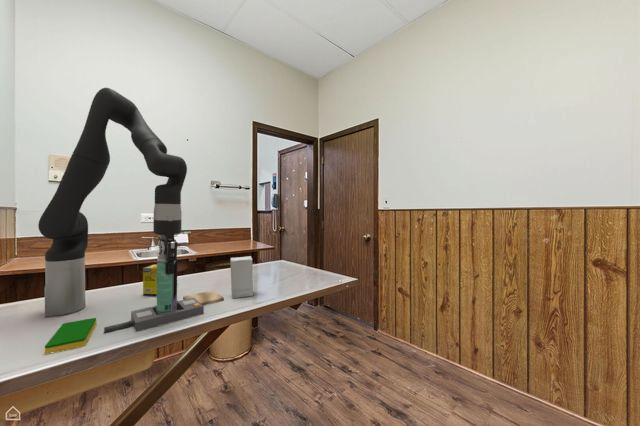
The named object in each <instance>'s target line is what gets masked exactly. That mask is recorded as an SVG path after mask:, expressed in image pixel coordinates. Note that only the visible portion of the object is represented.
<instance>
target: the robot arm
mask: <svg viewBox="0 0 640 426" xmlns="http://www.w3.org/2000/svg"><path fill="white" fill-rule="evenodd" d="M109 120H110V121H112V122H114V123H115V124H118V125H121V126H123V128H126V129H127V130H128V131H129V132H130V133H131V135H130V137H131V141H132V143H133V144H134V146H135V147H136V148H137V150H138V151H139V152H140V153H141V154H142V155H143V159H144V161H145V164H146V167H147V169H148V171H150V172H151V174H153V175H156V176H157V177H166V178H168V179H167V180H166V183H164V184H158V185H156V186H155V188H154V206H153V207H154V208H153V229H152V230H153V231H152V232H153V234H155V235H159V236H160V235H161V237H158V252H159V253H158V256H160V255H161V254H162V253H163V255H164V256H165V274H166V275H170V274H173V273H174V262H175V261H176V259H177V260H178V244H179V243H178V241H177V240H176V239H175V235H178V234H179V235H180V234H181V233H182V217H183V215H182V213H183V212H182V205H181V204H182V190H183V186H184V183H185V180H186V177H187V173H188V165H187V163H186V161H185V160H184V158H183V157H181V156H178V155H172V154H169V153H168V148H167V146H166V145H165V143H164V142H163V141H162V140H161V139H160V137H158V135H156V134H155V132H154V131H153V130H152V129H151V127H150V126H149V125H148V124H147V122H146V121H145V118H144V117H143V116H142V113H141V112H140V110H139V108H138V107H137V106H136V104H135V103H134V102H133V101H131V100H130V99H129V98H127V97H125V96H123V94H120V93H119V92H117V90H114V89H112V88H109V87H103V88H100V89H99V90H98V91H97V92H96V93H95V95H94V97H93V99H92V101H91V104H90V108H89V111H88V114H87V117H86V121H85V123H84V126H83V130H82V132H81V135H80V137H79V139H78V142H77V144H76V145H75V148H74V150H73V151H72V154H71V156H70V158H69V161H68V163H67V165H66V168H65V170H64V173H63V175H62V177H61V179H60V182H59V184H58V186H57V188H56V191H55V193H54V195H53V196H52V198H51V200H50V202H49V203H48V204H47V206H46V208H45V210H44V211H43V213H42V215H40V218H39V221H38V226H37V227H38V230H39V232H40V233H39V234H41V235H42V236H43V237H44V238H46V239H50V240H52V243H51V246H50V247H49V248H48V249H47V250H46V251H45V253H44V265H45V266H44V267H45V269H44V270H45V271H44V275H45V276H44V277H45V282H44V283H45V284H44V318H45V317H50V316H51V317H53V316H54V317H56V316H57V317H58V316H64V315H69V314H72V313H75V312H79V311H81V310H83V309H85V307H86V251H87V248H88V240H89V223H88V222H89V221H88V219H87V217H86V215H85V214H83V212H81V208H82V206H83V203H84V202H85V200H86V199H87V197H88V196H89V195H90V193H92V192H93V191H94V190H95V188H96V187H97V186H98V185H99V184H100V183H101V181H102V180H103V178H104V176H105V174H106V172H107V170H108V168H109V165H110V162H111V155H110V151H109V150H110V149H109V146H108V143H107V137H106V131H107V128H108V123H109ZM169 255H172V257H169Z"/></svg>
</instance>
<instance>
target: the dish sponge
mask: <svg viewBox="0 0 640 426" xmlns="http://www.w3.org/2000/svg"><path fill="white" fill-rule="evenodd" d="M96 326H97V317H92V318H87V319H80V320H75V321H68V322H65V323H62V324H61V326H59V328H58V329H57V330H56V331H55V332H54V334H53V335H52V337H51V338H49V340H48V342H46V344H45V345H44V354H45V353H46V354H45V355H48V354H47V353H50V354H52V353H51V352H55V353H58V352H57V351H60V352H63V351H62V350H64V351H68V350H67V349H69V350H72V349H73V348H74V349H77V348H82V346H83V347H85V346H86V345H87V343H88V341H89V339H90V338H91V335H92V333H93V332H94V330H95V328H96ZM74 349H73V350H74Z"/></svg>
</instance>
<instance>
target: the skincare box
mask: <svg viewBox="0 0 640 426" xmlns="http://www.w3.org/2000/svg"><path fill="white" fill-rule="evenodd" d="M253 274H254V272H253V258H252V256H251V255H249V256H248V255H247V256H240V257H238V256H237V257H230V282H231V283H230V285H231V288H230V289H231V291H230V292H231V299H237V298H238V299H239V298H244V297H251V296H254V282H253V281H254V280H253V278H254V275H253Z"/></svg>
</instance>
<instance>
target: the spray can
mask: <svg viewBox="0 0 640 426" xmlns="http://www.w3.org/2000/svg"><path fill="white" fill-rule="evenodd" d="M169 257H172V255H169ZM156 260H157V261H156V265H157V296H156V306H157V314H158V315H162V314H167V313H171V312H175V311H178V310H177V301H178V258H177V259H176V261H175V262H174V273H173V274H170V275H166V274H165V256H164V255H163V253H162V254H161V255H160V256H159V255H158V256H157V258H156Z"/></svg>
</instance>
